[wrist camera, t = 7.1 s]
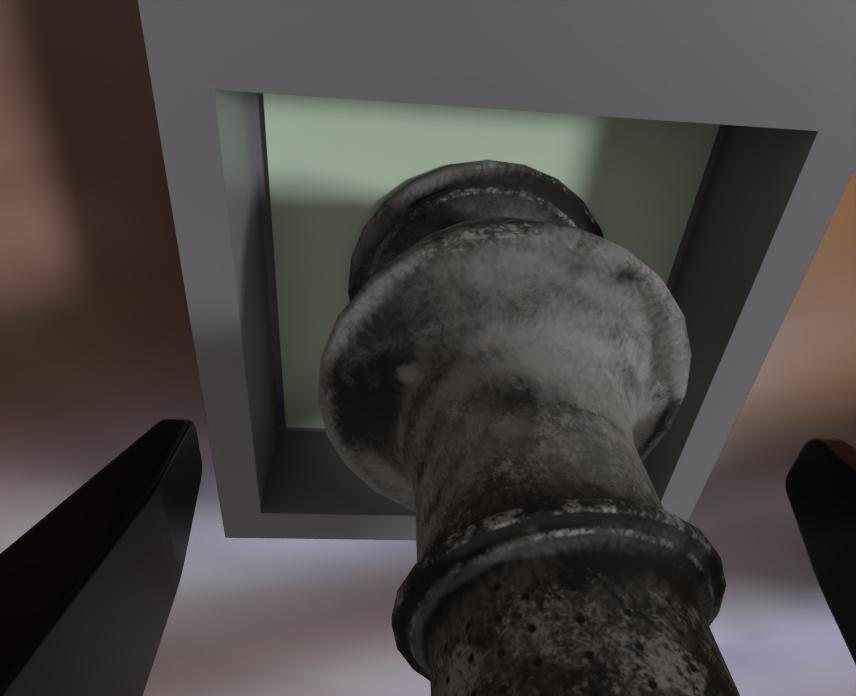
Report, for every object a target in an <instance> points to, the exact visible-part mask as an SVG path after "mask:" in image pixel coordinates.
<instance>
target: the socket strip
mask: <svg viewBox="0 0 856 696" xmlns="http://www.w3.org/2000/svg"><path fill="white" fill-rule="evenodd" d="M138 5H139V11H140V17H141V23H142V29H143V35H144V42H145V48H146V54H147V60H148V66H149V72H150V78H151V84H152V91H153V97H154V103H155V109H156V115H157V121H158V127H159V133H160V139H161V146H162V152H163V158H164V164H165V170H166V176H167V182H168V188H169V195H170V201H171V207H172V213H173V219H174V225H175V231H176V237H177V244H178V250H179V256H180V262H181V268H182V274H183V280H184V286H185V293H186V299H187V305H188V311H189V317H190V323H191V329H192V335H193V342H194V348H195V354H196V360H197V366H198V372H199V378H200V384H201V391H202V397H203V403H204V409H205V415H206V421H207V427H208V433H209V440H210V446H211V452H212V458H213V464H214V470H215V476H216V482H217V489H218V495H219V501H220V507H221V513H222V519H223V525H224V531H225V537H227V538H301V539H375V540H416V520H415V511H413V510H411V509H409V508H407V507H405V506H403V505H401V504H399V503H397V502H395V501H393V500H391V499H389V498H387V497H385V496H383V495H381V494H379V493H377V492H376V491H375V490H373V489H372V488H371V487H370V486H369V485H368V484H366V483H365V482H364V481H363V480H362V479H361V478H359V477H358V476H357V475H356V474H355V473H354V472H352V471H351V470H350V469H349V468H348V467H347V466H346V464H345V463H344V461H343V460H342V458H341V456H340V455H339V453H338V452H337V450H336V449H335V447H334V446H333V444H332V443H331V441H330V440H329V438H328V437H327V433H326V429H325V426H324V422H323V418H322V414H321V411H320V407H319V403H318V388H319V374H320V361H321V355H322V353H323V351H324V348H325V346H326V343H327V341H328V339H329V336H330V334H331V331H332V329H333V327H334V324H335V322H336V319H337V317H338V315H339V314H340V313H341V312H342V310H343V309H344V308H345V307H346V306H347V304H348V303H349V302H350V300H349V295H348V286H349V276H350V265H351V258H352V255H353V253H354V250H355V248H356V245H357V243H358V240H359V238H360V235H361V233H362V231H363V228H364V227H365V226H366V224H367V223H368V222H369V220H370V219H371V218H372V217H373V215H374V214H375V213H376V212H377V210H378V209H379V208H380V207H381V205H382V204H383V203H384V201H385V200H387V199H388V198H389V197H391V196H392V195H393V194H395V193H396V192H397V191H399V190H400V189H401V188H403V187H404V186H406V185H407V184H408V183H410V182H411V181H412V180H414V179H415V178H418V177H420V176H423V175H425V174H428V173H430V172H433V171H435V170H438V169H440V168H443V167H445V166H448V165H450V164H458V163H466V162H474V161H482V160H494V161H501V162H508V163H516V164H523V165H527V166H529V167H531V168H534V169H536V170H538V171H540V172H543V173H545V174H547V175H550V176H552V177H554V178H557V179H558V180H559V181H561V182H562V183H563V184H564V185H565V186H567V187H568V188H569V189H570V190H571V191H572V192H574V193H575V194H576V195H577V196H578V197H580V198H581V199H582V200H583V201H584V203H585V204H586V206H587V207H588V209H589V210H590V212H591V214H592V215H593V217H594V218H595V220H596V222H597V223H598V225H599V226H600V228H601V230H602V233H603V237H604V238H605V239H607V240H610V241H612V242H614V243H617V244H619V245H622V246H624V247H626V248H627V249H628V250H629V251H630V252H632V253H633V254H634V255H635V256H636V257H638V258H639V259H640V260H641V261H642V262H643V263H645V264H646V265H647V266H648V267H649V268H651V269H652V270H653V271H654V272H655V273H657V274H658V275H659V276H660V277H661V278H662V280H663V281H664V283H665V285H666V286H667V288H668V290H669V291H670V293H671V295H672V296H673V298H674V300H675V301H676V303H677V305H678V306H679V308H680V310H681V311H682V313H683V315H684V317H685V322H686V328H687V333H688V338H689V344H690V349H691V354H692V357H691V363H690V370H689V377H688V383H687V390H686V395H685V397H684V399H683V401H682V403H681V405H680V407H679V410H678V412H677V414H676V416H675V418H674V420H673V422H672V424H671V426H670V428H669V430H668V432H667V433H666V434H665V435H664V437H663V438H662V439H661V440H660V441H659V443H658V444H657V445H656V446H655V447H654V449H653V450H652V451H651V452H650V453H649V454H648V456H647V457H646V458H645V459H644V460H643V462H642V463H643V465H644V467H645V469H646V472H647V474H648V476H649V478H650V480H651V482H652V485H653V487H654V489H655V491H656V493H657V495H658V498H659V500H660V502H661V504H662V506H663V508H664V510H665V511H669V512H671V513H673V514H674V515H676V516H678V517H679V518H681V519H683V520H684V521H686V522H688V520H689V518H690V516H691V514H692V512H693V510H694V508H695V506H696V504H697V501H698V499H699V497H700V495H701V493H702V491H703V489H704V487H705V485H706V482H707V480H708V478H709V476H710V474H711V472H712V470H713V468H714V466H715V463H716V461H717V459H718V457H719V455H720V453H721V451H722V449H723V447H724V444H725V442H726V440H727V438H728V436H729V434H730V432H731V430H732V428H733V425H734V423H735V421H736V419H737V417H738V415H739V413H740V411H741V409H742V406H743V404H744V402H745V400H746V398H747V396H748V394H749V392H750V390H751V387H752V385H753V383H754V381H755V379H756V377H757V375H758V373H759V371H760V368H761V366H762V364H763V362H764V360H765V358H766V356H767V354H768V352H769V349H770V347H771V345H772V343H773V341H774V339H775V337H776V335H777V333H778V330H779V328H780V326H781V324H782V322H783V320H784V318H785V316H786V314H787V311H788V309H789V307H790V305H791V303H792V301H793V299H794V297H795V295H796V292H797V290H798V288H799V286H800V284H801V282H802V280H803V278H804V276H805V273H806V271H807V269H808V267H809V265H810V263H811V261H812V259H813V257H814V254H815V252H816V250H817V248H818V246H819V244H820V242H821V240H822V238H823V235H824V233H825V231H826V229H827V227H828V225H829V223H830V221H831V219H832V216H833V214H834V212H835V210H836V208H837V206H838V204H839V202H840V200H841V197H842V195H843V193H844V191H845V189H846V187H847V185H848V183H849V181H850V178H851V176H852V174H853V172H854V170H855V168H856V0H138Z"/></svg>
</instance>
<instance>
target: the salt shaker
mask: <svg viewBox="0 0 856 696" xmlns="http://www.w3.org/2000/svg"><path fill="white" fill-rule="evenodd" d="M348 295H349V300H350V302H349V303H348V304H347V306H346V307H345V308H344V309H343V310H342V312H341V313H340V314H339V315H338V317H337V319H336V322H335V324H334V327H333V329H332V331H331V334H330V336H329V339H328V341H327V343H326V346H325V348H324V351H323V353H322V355H321V361H320V374H319V388H318V403H319V407H320V411H321V414H322V418H323V422H324V426H325V429H326V433H327V437H328V438H329V440H330V441H331V443H332V444H333V446H334V447H335V449H336V450H337V452H338V453H339V455H340V456H341V458H342V460H343V461H344V463H345V464H346V466H347V467H348V468H349V469H350V470H351V471H352V472H354V473H355V474H356V475H357V476H358V477H359V478H361V479H362V480H363V481H364V482H365V483H366V484H368V485H369V486H370V487H371V488H372V489H373V490H375V491H376V492H377V493H379V494H381V495H383V496H385V497H387V498H389V499H391V500H393V501H395V502H397V503H399V504H401V505H403V506H405V507H407V508H409V509H411V510H413V511H415V520H416V542H417V563H416V564H415V566H414V567H413V569H412V570H411V571H410V573H409V574H408V576H407V577H406V579H405V580H404V582H403V583H402V585H401V586H400V588H399V589H398V591H397V595H396V600H395V604H394V609H393V613H392V628H393V632H394V636H395V641H396V645H397V649H398V650H399V651H400V653H401V654H402V655H403V657H404V658H405V659H406V661H407V662H408V663H409V664H410V666H411V667H412V668H413V669H414V670H415V671H416V672H418V673H419V674H421V675H422V676H424V677H425V678H427V679H428V680H430V682H431V696H740V695H739V692H738V690H737V688H736V686H735V683H734V681H733V679H732V677H731V675H730V672H729V670H728V668H727V666H726V663H725V661H724V659H723V657H722V654H721V652H720V650H719V648H718V646H717V643H716V641H715V639H714V637H713V634H712V632H711V630H710V628H709V626H710V625H711V623H712V622H713V620H714V619H715V618H716V616H717V615H718V613H719V610H720V607H721V603H722V599H723V595H724V592H725V588H726V582H725V577H724V572H723V567H722V562H721V559H720V557H719V555H718V553H717V552H716V550H715V549H714V548H713V546H712V545H711V544H710V543H709V541H708V540H707V539H706V537H705V536H704V535H703V533H702V532H701V531H700V530H699V529H697V528H696V527H694V526H692V525H691V524H689V523H688V522H686V521H684V520H683V519H681V518H679V517H678V516H676V515H674V514H673V513H671V512H669V511H665V510H664V508H663V506H662V504H661V502H660V500H659V498H658V495H657V493H656V491H655V489H654V487H653V485H652V482H651V480H650V478H649V476H648V474H647V472H646V469H645V467H644V465H643V463H642V462H643V460H644V459H645V458H646V457H647V456H648V454H649V453H650V452H651V451H652V450H653V449H654V447H655V446H656V445H657V444H658V443H659V441H660V440H661V439H662V438H663V437H664V435H665V434H666V433H667V432H668V430H669V428H670V426H671V424H672V422H673V420H674V418H675V416H676V414H677V412H678V410H679V407H680V405H681V403H682V401H683V399H684V397H685V395H686V390H687V383H688V377H689V370H690V363H691V357H692V354H691V349H690V344H689V338H688V333H687V328H686V322H685V317H684V315H683V313H682V311H681V310H680V308H679V306H678V305H677V303H676V301H675V300H674V298H673V296H672V295H671V293H670V291H669V290H668V288H667V286H666V285H665V283H664V281H663V280H662V278H661V277H660V276H659V275H658V274H657V273H655V272H654V271H653V270H652V269H651V268H649V267H648V266H647V265H646V264H645V263H643V262H642V261H641V260H640V259H639V258H638V257H636V256H635V255H634V254H633V253H632V252H630V251H629V250H628V249H627V248H626V247H624V246H622V245H619V244H617V243H614V242H612V241H610V240H607V239H605V238H604V237H603V233H602V230H601V228H600V226H599V225H598V223H597V222H596V220H595V218H594V217H593V215H592V214H591V212H590V210H589V209H588V207H587V206H586V204H585V203H584V201H583V200H582V199H581V198H580V197H578V196H577V195H576V194H575V193H574V192H572V191H571V190H570V189H569V188H568V187H567V186H565V185H564V184H563V183H562V182H561V181H559V180H558V179H557V178H554V177H552V176H550V175H547V174H545V173H543V172H540V171H538V170H536V169H534V168H531V167H529V166H527V165H523V164H516V163H508V162H501V161H494V160H482V161H474V162H466V163H458V164H450V165H448V166H445V167H443V168H440V169H438V170H435V171H433V172H430V173H428V174H425V175H423V176H420V177H418V178H415V179H414V180H412V181H411V182H410V183H408V184H407V185H406V186H404V187H403V188H401V189H400V190H399V191H397V192H396V193H395V194H393V195H392V196H391V197H389V198H388V199H387V200H385V201H384V203H383V204H382V205H381V207H380V208H379V209H378V210H377V212H376V213H375V214H374V215H373V217H372V218H371V219H370V220H369V222H368V223H367V224H366V226H365V227H364V228H363V231H362V233H361V235H360V238H359V240H358V243H357V245H356V248H355V250H354V253H353V255H352V258H351V265H350V276H349V286H348Z"/></svg>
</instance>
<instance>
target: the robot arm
mask: <svg viewBox="0 0 856 696" xmlns="http://www.w3.org/2000/svg"><path fill="white" fill-rule="evenodd" d="M201 474H202V461H201V455H200V449H199V444H198V438H197V432H196V427H195V425H194V423H193V422H192V421H190V420H179V419H165V420H162V421H160V422H158V423H157V424H156V425H154V426H153V427H152V428H151V429H150V430H148V431H147V432H146V433H145V434H144V435H142V436H141V437H140V438H139V439H138V440H136V441H135V442H134V443H133V444H132V445H130V446H129V447H128V448H127V449H126V450H124V451H123V452H122V453H121V454H120V455H118V456H117V457H116V458H115V459H114V460H112V461H111V462H110V463H109V464H108V465H106V466H105V467H104V468H103V469H102V470H100V471H99V472H98V473H97V474H96V475H94V476H93V477H92V478H91V479H90V480H88V481H87V482H86V483H85V484H84V485H82V486H81V487H80V488H79V489H78V490H76V491H75V492H74V493H73V494H72V495H70V496H69V497H68V498H67V499H66V500H64V501H63V502H62V503H61V504H60V505H58V506H57V507H56V508H55V509H54V510H52V511H51V512H50V513H49V514H48V515H46V516H45V517H44V518H43V519H42V520H40V521H39V522H38V523H37V524H36V525H34V526H33V527H32V528H31V529H30V530H28V531H27V532H26V533H25V534H24V535H22V536H21V537H20V538H19V539H18V540H16V541H15V542H14V543H13V544H12V545H10V546H9V547H8V548H7V549H6V550H4V551H3V552H2V553H1V554H0V696H142V695H143V692H144V689H145V686H146V683H147V680H148V677H149V674H150V671H151V668H152V665H153V662H154V659H155V656H156V653H157V650H158V647H159V644H160V641H161V638H162V635H163V632H164V629H165V626H166V622H167V619H168V616H169V613H170V610H171V607H172V604H173V601H174V598H175V595H176V592H177V588H178V585H179V582H180V578H181V574H182V569H183V565H184V560H185V555H186V550H187V545H188V541H189V536H190V531H191V526H192V521H193V516H194V511H195V506H196V501H197V496H198V491H199V486H200V481H201ZM786 491H787V495H788V498H789V501H790V504H791V506H792V509H793V512H794V515H795V518H796V521H797V524H798V527H799V530H800V532H801V535H802V538H803V541H804V544H805V547H806V550H807V553H808V556H809V558H810V561H811V564H812V567H813V570H814V573H815V575H816V578H817V580H818V583H819V586H820V588H821V590H822V593H823V595H824V597H825V599H826V602H827V604H828V606H829V608H830V610H831V612H832V615H833V617H834V619H835V621H836V623H837V625H838V628H839V630H840V632H841V634H842V636H843V638H844V640H845V643H846V645H847V647H848V649H849V651H850V653H851V656H852V658H853V660H854V662H855V664H856V449H855V448H854V447H852V446H850V445H849V444H847V443H845V442H844V441H842V440H839V439H827V438H814V439H810V440H809V441H808V442H806V443H805V445H804V446H803V448H802V450H801V452H800V453H799V455H798V457H797V459H796V460H795V462H794V464H793V465H792V467H791V469H790V471H789V472H788V474H787V477H786Z"/></svg>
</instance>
